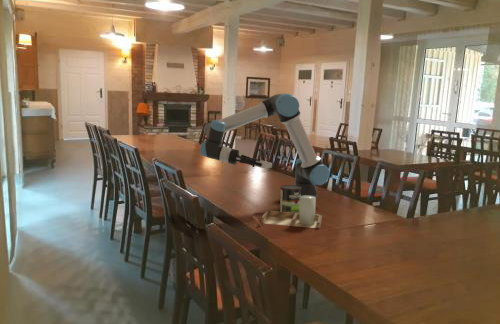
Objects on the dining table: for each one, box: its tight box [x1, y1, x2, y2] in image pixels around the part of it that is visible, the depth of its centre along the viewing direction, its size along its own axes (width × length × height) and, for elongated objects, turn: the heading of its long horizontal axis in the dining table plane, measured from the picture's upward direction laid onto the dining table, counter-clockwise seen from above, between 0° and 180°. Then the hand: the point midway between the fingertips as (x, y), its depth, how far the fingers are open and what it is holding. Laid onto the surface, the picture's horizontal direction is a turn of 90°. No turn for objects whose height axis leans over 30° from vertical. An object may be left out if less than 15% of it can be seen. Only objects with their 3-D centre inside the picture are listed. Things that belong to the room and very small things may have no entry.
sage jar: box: [299, 195, 317, 226], centre depth 177 cm, size 7×7×12 cm
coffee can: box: [279, 184, 302, 213], centre depth 195 cm, size 10×10×14 cm
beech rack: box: [260, 210, 323, 229], centre depth 180 cm, size 26×13×4 cm, turn 76°
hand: (270, 166), depth 197 cm, fingers open, 13 cm apart
